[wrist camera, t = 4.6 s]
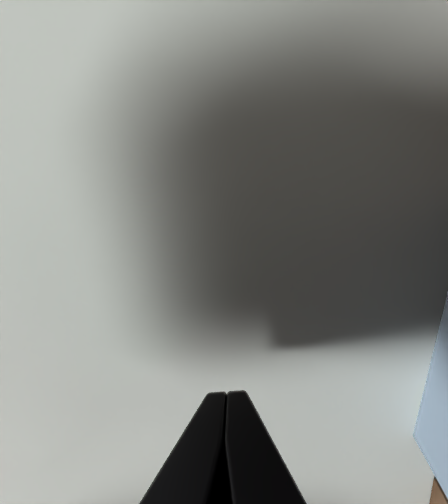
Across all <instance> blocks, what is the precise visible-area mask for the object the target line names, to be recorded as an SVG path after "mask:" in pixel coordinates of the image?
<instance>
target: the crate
mask: <svg viewBox="0 0 448 504" xmlns="http://www.w3.org/2000/svg"><path fill="white" fill-rule="evenodd" d="M413 437H414V439H415V441H416V442H417V444H418V446H419V448H420V450H421V451H422V453H423V455H424V457H425V459H426V460H427V462H428V464H429V466H430V468H431V470H432V471H433V473H434V475H435V477H436V479H437V480H438V482H439V484H440V486H441V488H442V490H443V491H444V493H445V495H446V497H447V499H448V293H447V297H446V302H445V306H444V310H443V314H442V318H441V322H440V326H439V330H438V334H437V338H436V343H435V347H434V351H433V355H432V359H431V363H430V367H429V371H428V375H427V379H426V384H425V388H424V392H423V396H422V400H421V404H420V408H419V412H418V416H417V420H416V425H415V429H414V433H413Z"/></svg>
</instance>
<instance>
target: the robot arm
mask: <svg viewBox="0 0 448 504" xmlns="http://www.w3.org/2000/svg"><path fill="white" fill-rule="evenodd" d="M139 504H307V503H306V502H305V500H304V498H303V496H302V494H301V492H300V490H299V489H298V487H297V485H296V483H295V481H294V479H293V477H292V476H291V474H290V472H289V470H288V468H287V466H286V464H285V462H284V461H283V459H282V457H281V455H280V453H279V451H278V449H277V448H276V446H275V444H274V442H273V440H272V438H271V436H270V435H269V433H268V431H267V429H266V427H265V425H264V423H263V422H262V420H261V418H260V416H259V414H258V412H257V410H256V408H255V407H254V405H253V403H252V401H251V399H250V397H249V395H248V394H247V392H246V391H244V390H241V391H229V392H228V393H227V394H226V393H225V392H211V393H208V394H207V395H206V397H205V398H204V400H203V401H202V403H201V405H200V406H199V408H198V409H197V411H196V413H195V414H194V416H193V418H192V419H191V421H190V422H189V424H188V426H187V427H186V429H185V431H184V432H183V434H182V435H181V437H180V439H179V440H178V442H177V443H176V445H175V447H174V448H173V450H172V452H171V453H170V455H169V456H168V458H167V460H166V461H165V463H164V465H163V466H162V468H161V469H160V471H159V473H158V474H157V476H156V477H155V479H154V481H153V482H152V484H151V486H150V487H149V489H148V490H147V492H146V494H145V495H144V497H143V499H142V500H141V502H140V503H139Z"/></svg>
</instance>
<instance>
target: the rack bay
mask: <svg viewBox="0 0 448 504" xmlns="http://www.w3.org/2000/svg"><path fill="white" fill-rule="evenodd" d="M429 504H448V499H447V497H446V495H445V493H444V491H443V490H442V488H441V486H440V484H439V482H438V480H437V479H436V478H434V481H433V486H432V492H431V498H430V503H429Z"/></svg>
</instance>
